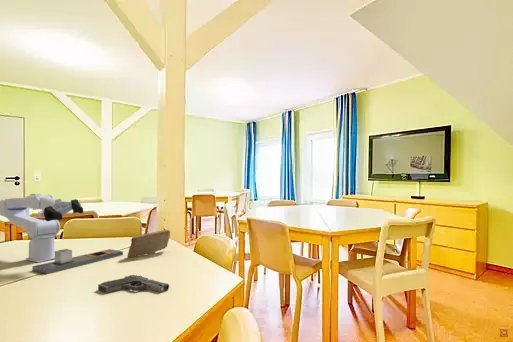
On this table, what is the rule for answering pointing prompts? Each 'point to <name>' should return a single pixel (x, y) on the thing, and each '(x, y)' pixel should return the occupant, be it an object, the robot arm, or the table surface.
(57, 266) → the rail
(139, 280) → the handgun
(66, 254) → the grey rectangular block
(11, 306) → the table surface
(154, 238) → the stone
